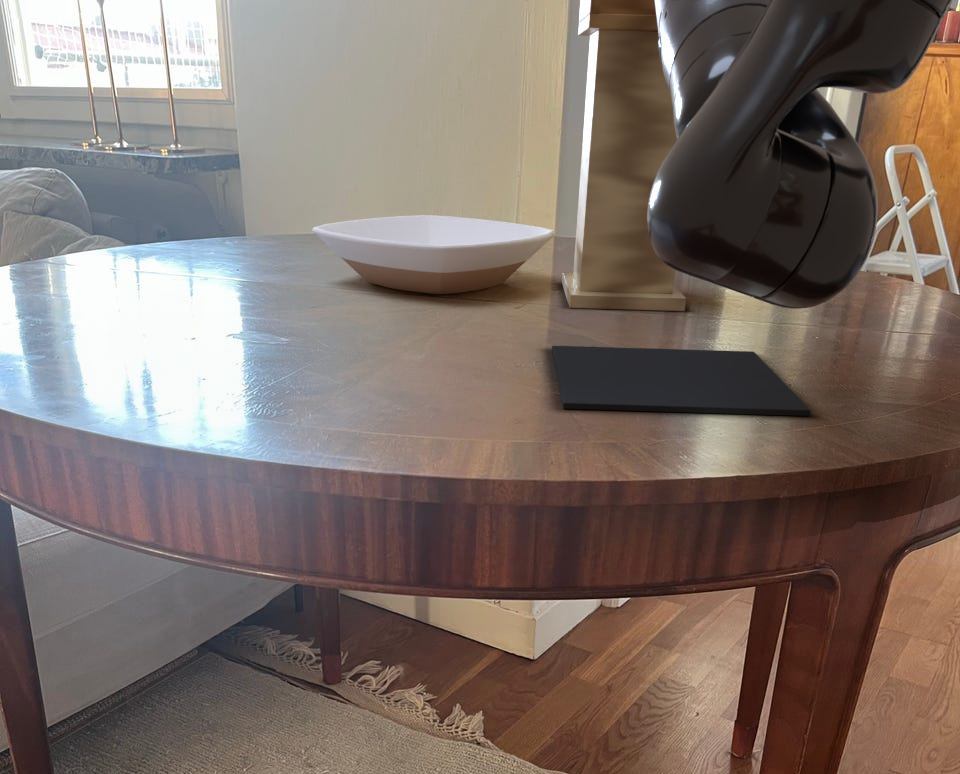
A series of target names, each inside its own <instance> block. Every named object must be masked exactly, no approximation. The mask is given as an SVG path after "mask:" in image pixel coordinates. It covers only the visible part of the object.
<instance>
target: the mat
mask: <svg viewBox="0 0 960 774" xmlns="http://www.w3.org/2000/svg"><path fill="white" fill-rule="evenodd" d="M551 354H552V358H553V362H554V368H555V374H556V379H557V385H558V390H559V395H560V399H561V400H560V401H561V405H562V409H563V410H593V411H594V410H596V411H597V410H598V411H623V412H625V411H627V412H628V411H629V412H658V413H659V412H661V413H663V412H664V413H692V414H693V413H695V414H724V415H725V414H729V415H731V414H732V415H756V416H757V415H761V416H764V415H765V416H791V417H792V416H793V417H795V416H796V417H810V415H811V412H812V411H811V409H810V408H809V407H808V406H807V404H806V403H804V402H803V401H802V399H800V397H798V395H797V394H795V392H794V391H792V390H791V389H790V387H789V386H788V385H787V384H786V383H785V382H784V381H783V380H782V379H781V378H780V377H779V376H778V375H777V374H776V373H775V371H774V370H772V369H771V368H770V366H769V365H768V364H766V363H765V361H764V360H762V358H761V357H760V356H759V355H758V354H757V353H756V352H755V351H746V350H714V349H713V350H712V349H710V350H709V349H682V348H681V349H680V348H648V347H647V348H645V347H615V346H612V347H609V346H580V345H578V346H577V345H551Z"/></svg>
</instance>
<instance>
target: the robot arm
mask: <svg viewBox="0 0 960 774" xmlns="http://www.w3.org/2000/svg"><path fill="white" fill-rule="evenodd" d="M953 1H954V0H655V8H656V16H657V25H658V34H659V40H658V49H659V59H660V60H661V63H662V67H663V73H664V78H665V81H666V84H667V87H668V90H669V92H670V97H671V105H672V114H673V121H674V128H675V134H676V139H677V140H676V142H675V143H674V145H673V146H672V148H671V150H670V151H669V153H668V154H667V156H666V157H665V159H664V161H663V163H662V165H661V166H660V168H659V171H658V173H657V175H656V177H655V180H654V183H653V186H652V189H651V193H650V197H649V202H648V211H647V222H648V233H649V238H650V242H651V245H652V247H653V250H654V252H655V253H656V255H657V256H658V258H659V259H660V260H661V261H662V262H663V263H665V264H666V265H667V266H669V267H671V268H673V269H675V271H677V272H679V273H682V274H684V275H687V276H690V277H693V278H695V279H699V280H702V281H705V282H708V283H711V284H713V285H716V286H720V287H722V288H725V289H728V290H730V291H734V292H736V293H739V294H742V295H744V296H748V297H751V298H753V299H756V300H759V301H761V302H764V303H766V304H770V305H773V306H776V307H780V308H784V309H792V310H801V309H810V308H813V307H817V306H820V305H821V304H822V305H823V304H824V303H826V302H829V301H830V300H832V299H834V298H835V297H837V296H838V295H839V294H840V293H842V292H843V291H844V290H845V289H846V288H847V287H848V286H849V285H850V284H851V283H852V282H853V281H854V279H855V278H856V277H857V276H858V274H859V272H860V271H861V270H862V268H863V267H864V264H865V263H866V260H867V259H868V256H869V255H870V252H871V250H872V247H873V243H874V239H875V235H876V232H877V225H878V224H877V223H878V215H879V200H878V199H879V198H878V190H877V186H876V181H875V177H874V173H873V171H872V169H871V166H870V163H869V161H868V158H867V157H866V154H865V153H864V152H863V149H862V148H861V147H860V145H859V143H858V142H857V140H856V139H855V137H854V136H853V135H852V133H851V131H850V130H849V128H848V127H847V125H845V123H844V122H843V121H842V119H841V117H840V116H839V115H838V113H837V112H836V110H835V109H834V108H833V106H832V105H831V103H830V102H829V101H828V100H827V99H826V98H825V97H824V96H823V95H822V94H821V92H820V91H819V90H818V89H821V88H832V89H839V90H844V91H849V92H854V93H855V92H856V93H864V94H874V95H875V94H880V95H881V94H888V93H891V92H894V91H895V90H898V89H900V88H901V87H902V86H904V85H905V84H906V83H907V82H908V81H909V80H910V79H911V78H912V76H913V75H914V73H915V72H916V71H917V69H918V67H919V66H920V64H921V62H922V61H923V59H924V57H925V56H926V53H928V50H929V48H930V46H931V44H932V42H933V40H934V39H935V36H936V34H937V32H938V31H939V28H940V27H941V25H942V22H941V21H942V20H945V19H944V18H945V17H946V14H947V13H948V10H949V9H950V7H951V5H952V3H953Z"/></svg>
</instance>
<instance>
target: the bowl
mask: <svg viewBox="0 0 960 774" xmlns="http://www.w3.org/2000/svg"><path fill="white" fill-rule="evenodd" d="M312 232H313V234H315V235H316V236H317V237H318V238H319V239H320V240H321V241H322V242H323V243H324V244H326V245H327V246H328V247H329V248H330V249H331V250H332V251H333V252H334V253H335V254H336V255H337V256H338V257H339V258H341V259H342V260H343V261H344V262H345V263H346V264H347V265H349V267H350V268H351V269H352V270H354V271H355V272H356V273H357V274H358V275H359V276H360V277H361V279H363V280H364V281H365V282H368V283H370V284H372V285H376V286H380V287H385V288H389V289H393V290H400V291H406V292H414V293H421V294H428V295H429V294H431V295H451V294H460V293H466V292H467V293H468V292H474V291H480V290H485V289H489V288H492V287H496V286H499V285H501V284H503V283H504V282H506V281H507V280H508V279H510V277H511V276H513V274H514V273H515V272H516V271H518V270H519V268H521V267H522V266H523V265H524V264H525V263H526V262H527V261H528V260H530V259H531V258H532V257H533V256H534V255H535V254H536V253H537V252H539V250H540V249H541V248H542V247H544V245H545V244H546V243H548V242H549V241H550V240H551V239H552V238H553V237H554V236H555V234H556V232H555V230H554V229H550V228H546V227H541V226H536V225H530V224H522V223H517V222H509V221H502V220H493V219H492V220H491V219H483V218H472V217H463V216H462V217H461V216H449V215H435V214H419V215H418V214H417V215H397V216H384V217H383V216H382V217H373V218H361V219H353V220H345V221H337V222H330V223H324V224H320V225H317V226H313V228H312Z"/></svg>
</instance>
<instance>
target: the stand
mask: <svg viewBox="0 0 960 774" xmlns="http://www.w3.org/2000/svg"><path fill="white" fill-rule="evenodd" d="M577 36H579V37H589V47H588V60H587V73H586V86H585V87H586V89H585V102H584V103H585V104H584V117H583V118H584V119H583V131H582V147H581V160H580V173H579V189H578V201H577V203H578V205H577V217H576V232H575V245H574V246H575V247H574V259H573V272H572V271H571V272H568V271H567V272H566V271H562V276H561V285H562V288H563V291H564V294H565V297H566V300H567V304H568V307H569V308H570V309H593V310H594V309H595V310H597V309H598V310H599V309H600V310H627V311H630V310H631V311H635V310H636V311H661V312H662V311H663V312H664V311H665V312H685V311H686V305H687V298H686V296H685V295H684V294H683V293H682V292H681V291H680V289H678V287H677V286H676V284H675V278H676V277H675V276H676V270H675V269H673V268H671V267H669V266H667V265H666V264H665V263H663V262H662V261H661V260H660V259H659V258H658V256H657V255H656V253H655V252H654V250H653V247H652V245H651V242H650V238H649V233H648V222H647V211H648V202H649V197H650V193H651V189H652V186H653V183H654V180H655V177H656V175H657V173H658V171H659V168H660V166H661V165H662V163H663V161H664V159H665V157H666V156H667V154H668V153H669V151H670V150H671V148H672V146H673V145H674V143H675V142H676V140H677V139H676V134H675V128H674V121H673V114H672V105H671V97H670V92H669V90H668V87H667V84H666V81H665V78H664V73H663V67H662V63H661V60H660V59H659V49H658V40H659V34H658V25H657V16H656V8H655V0H579V14H578V30H577Z"/></svg>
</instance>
